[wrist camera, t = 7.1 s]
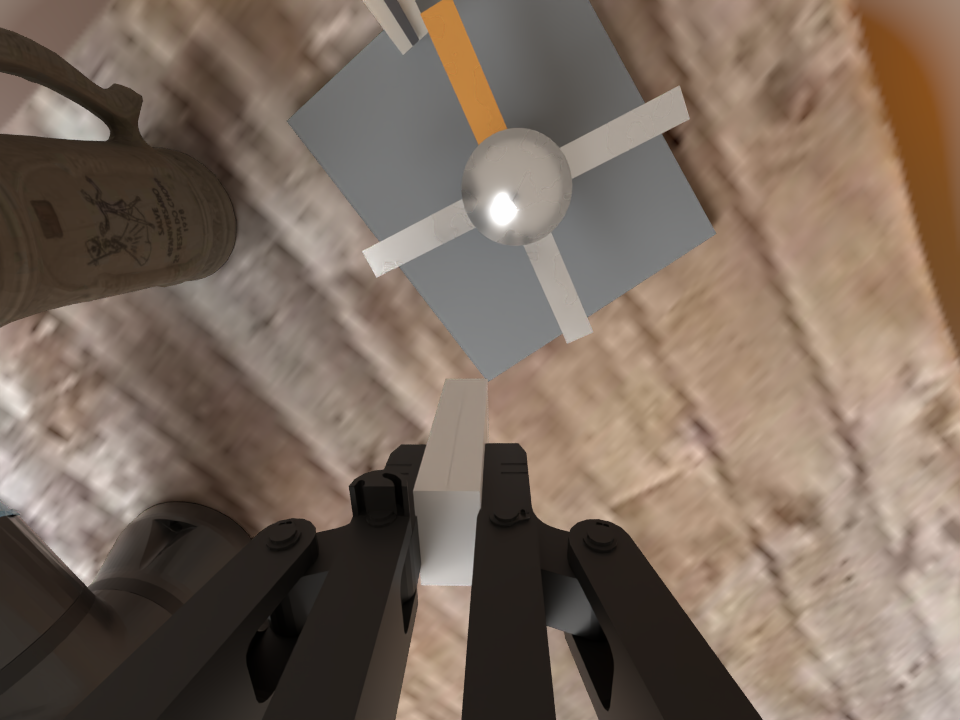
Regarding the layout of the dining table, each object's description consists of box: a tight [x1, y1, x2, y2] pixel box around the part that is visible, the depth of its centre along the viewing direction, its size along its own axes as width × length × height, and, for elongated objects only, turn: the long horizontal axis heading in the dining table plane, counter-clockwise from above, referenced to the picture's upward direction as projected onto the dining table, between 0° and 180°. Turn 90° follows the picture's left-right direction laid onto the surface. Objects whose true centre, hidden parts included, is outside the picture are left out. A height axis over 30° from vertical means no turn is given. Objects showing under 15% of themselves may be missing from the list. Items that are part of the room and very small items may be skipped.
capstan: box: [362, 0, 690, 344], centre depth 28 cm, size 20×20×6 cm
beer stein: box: [0, 28, 236, 327], centre depth 29 cm, size 15×11×20 cm
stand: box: [287, 0, 716, 382], centre depth 30 cm, size 22×26×14 cm
